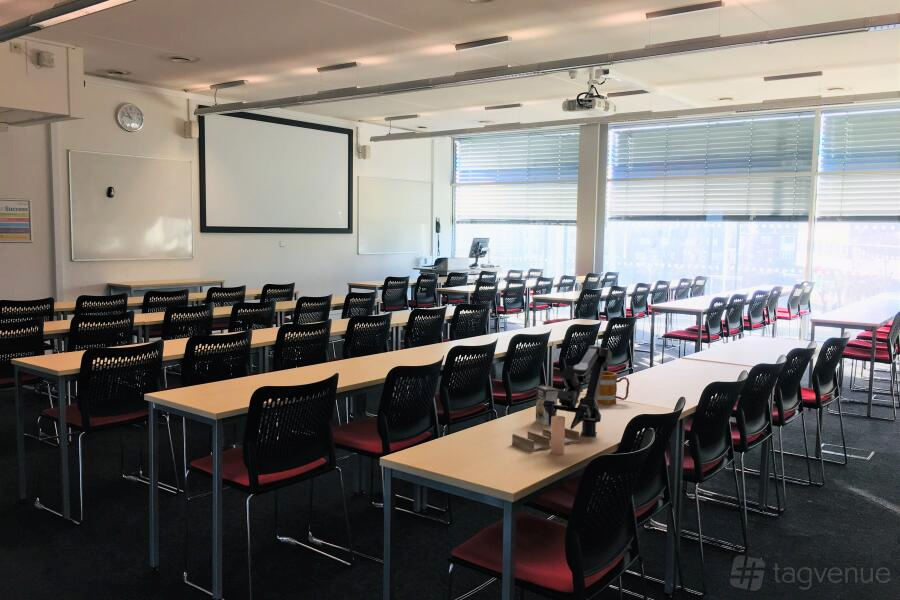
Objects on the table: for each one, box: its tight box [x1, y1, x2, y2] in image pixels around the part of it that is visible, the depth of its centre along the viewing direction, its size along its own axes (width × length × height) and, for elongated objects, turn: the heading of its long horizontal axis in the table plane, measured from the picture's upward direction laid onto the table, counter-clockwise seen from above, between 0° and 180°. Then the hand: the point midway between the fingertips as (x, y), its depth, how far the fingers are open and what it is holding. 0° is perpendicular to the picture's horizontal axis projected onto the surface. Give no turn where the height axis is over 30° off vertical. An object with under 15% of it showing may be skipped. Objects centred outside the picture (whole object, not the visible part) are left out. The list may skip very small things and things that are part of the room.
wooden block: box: [550, 415, 566, 455], centre depth 284 cm, size 5×5×14 cm
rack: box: [511, 427, 580, 452], centre depth 298 cm, size 26×12×4 cm, turn 126°
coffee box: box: [535, 385, 558, 426], centre depth 331 cm, size 9×6×16 cm
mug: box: [596, 370, 630, 406], centre depth 374 cm, size 20×14×15 cm
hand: (560, 426), depth 286 cm, fingers open, 9 cm apart
